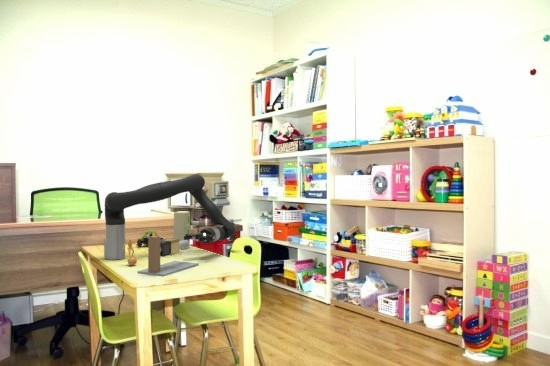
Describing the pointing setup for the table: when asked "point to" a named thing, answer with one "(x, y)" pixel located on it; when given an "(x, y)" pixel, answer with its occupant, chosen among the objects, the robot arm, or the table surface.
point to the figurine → (132, 260)
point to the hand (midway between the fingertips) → (191, 238)
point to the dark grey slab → (165, 248)
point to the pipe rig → (154, 259)
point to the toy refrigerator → (181, 226)
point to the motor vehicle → (146, 238)
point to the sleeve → (173, 245)
